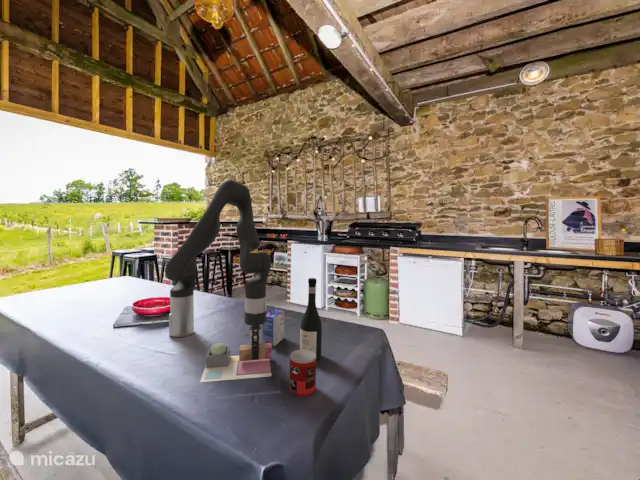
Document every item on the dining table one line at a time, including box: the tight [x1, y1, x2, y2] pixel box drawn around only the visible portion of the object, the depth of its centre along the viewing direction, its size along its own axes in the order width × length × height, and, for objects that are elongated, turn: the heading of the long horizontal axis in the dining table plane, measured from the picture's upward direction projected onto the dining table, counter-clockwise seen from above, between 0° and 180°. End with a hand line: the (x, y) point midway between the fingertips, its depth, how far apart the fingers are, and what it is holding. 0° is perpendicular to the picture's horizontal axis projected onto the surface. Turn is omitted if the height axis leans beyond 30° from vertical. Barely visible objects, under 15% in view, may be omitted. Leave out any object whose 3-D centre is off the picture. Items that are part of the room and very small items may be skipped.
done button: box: [210, 342, 227, 355], centre depth 103 cm, size 5×5×4 cm
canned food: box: [289, 349, 317, 397], centre depth 89 cm, size 8×8×11 cm
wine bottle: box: [299, 277, 323, 361], centre depth 109 cm, size 8×8×30 cm
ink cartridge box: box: [262, 306, 285, 347], centre depth 123 cm, size 10×6×14 cm, turn 161°
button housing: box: [205, 345, 231, 368], centre depth 103 cm, size 7×7×4 cm
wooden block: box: [238, 343, 273, 361], centre depth 104 cm, size 11×4×4 cm, turn 102°
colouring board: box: [199, 355, 272, 383], centre depth 101 cm, size 22×16×1 cm
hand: (255, 356), depth 104 cm, fingers closed on wooden block, 4 cm apart
